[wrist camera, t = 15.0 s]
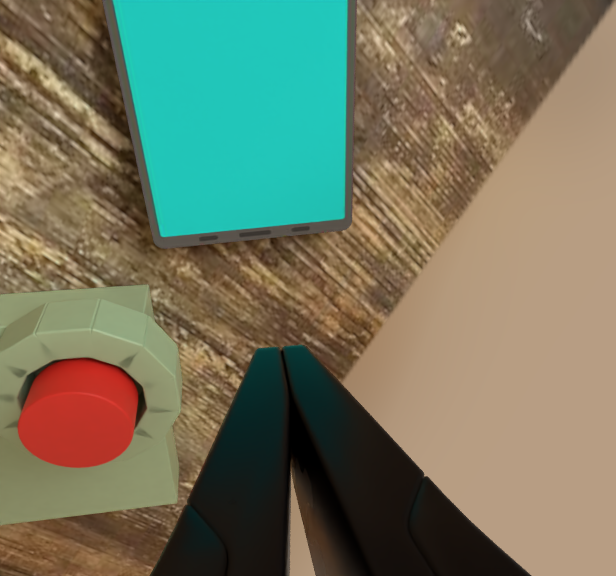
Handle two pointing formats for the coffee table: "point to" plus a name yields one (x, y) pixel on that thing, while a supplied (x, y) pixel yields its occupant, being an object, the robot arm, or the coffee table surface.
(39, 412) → the button
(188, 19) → the smartphone
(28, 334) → the button box
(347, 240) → the coffee table surface
